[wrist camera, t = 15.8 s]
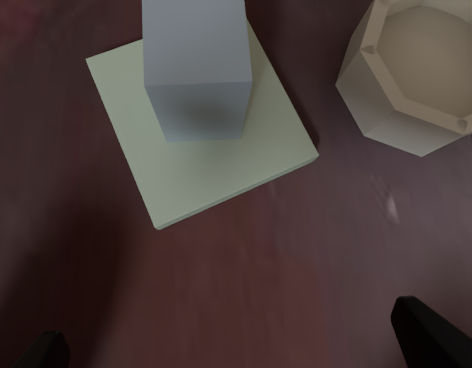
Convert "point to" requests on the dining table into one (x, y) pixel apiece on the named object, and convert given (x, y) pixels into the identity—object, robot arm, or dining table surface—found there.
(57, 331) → the robot arm
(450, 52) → the cream bowl
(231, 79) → the grey-blue upright block
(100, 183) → the dining table surface
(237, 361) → the dining table surface
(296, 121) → the sage mat
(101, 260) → the dining table surface
